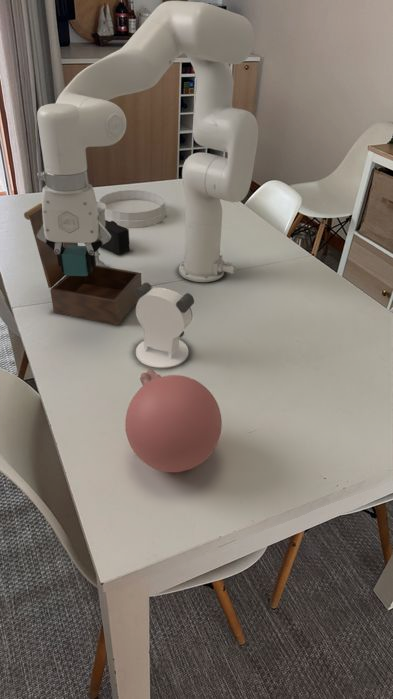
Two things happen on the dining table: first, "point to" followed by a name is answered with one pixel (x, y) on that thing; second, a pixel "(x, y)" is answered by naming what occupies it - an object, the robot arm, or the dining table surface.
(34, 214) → the box lid
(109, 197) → the dish
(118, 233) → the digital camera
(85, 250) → the block
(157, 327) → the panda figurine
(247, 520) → the dining table surface
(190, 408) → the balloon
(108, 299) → the box
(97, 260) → the chalice
